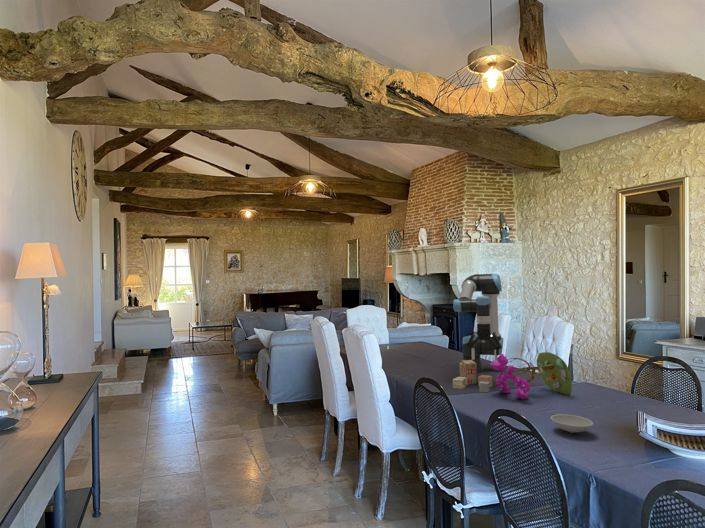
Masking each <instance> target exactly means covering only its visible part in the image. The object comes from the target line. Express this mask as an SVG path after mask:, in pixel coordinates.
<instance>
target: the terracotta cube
mask: <svg viewBox="0 0 705 528" xmlns="http://www.w3.org/2000/svg"><path fill="white" fill-rule="evenodd" d="M480 381H483V382H489V388H492V387H493V375H487V374H481V375H479V376H477V387H478V388H479V382H480Z"/></svg>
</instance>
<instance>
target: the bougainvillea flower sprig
mask: <svg viewBox="0 0 705 528" xmlns="http://www.w3.org/2000/svg"><path fill="white" fill-rule="evenodd" d="M510 360H511V361H510ZM515 360H520V361H522V362H524V363H522V364H521V365H519V366H516V367H515V366H514V365H513V364H511V365H508V364H509V363H511V362H513V361H515ZM489 365H490V367H491V369H492V370H495V371H501V372H499V373H498V375H496V376H495V377H496V378H495V381H496V388H497V389H498V391H500V392H502V393H503V394H505V393H507V394H510V393H511V391H512V389H511V388H510V385H509V384H511V385H514V386H516V387H517V388H516V390H515V391H514V393H515V396H517V397H518V398H519V399H520V400H527V399H528V398H529V393H528V392H530V391H531V386H532V385H534V386H538V385H539V384H540V379H539V376H540V378H541V379H542V380H543V382H544V384H545V385H546V386H547V388H548V389H550V390H551V391H552V390H553V392H557V393H559V392H560V394H562V393H563V395H566V396H571V395H572V391H573V390H572V389H573V385H572V384H573V383H572V378H571V373H570V369H569V367H568V365H567V363H566V361H564V359H562V358H561V357H560V356H559V355H557V354H555V353H552V352H548V351H547V352H543V351H541V352H539V353H538V355H537V358H536V366H534V365H533V363H530V362H528V361H527V360H525V359H523V358H520V357H510V358H508V357H507V356H506V355H504V354H503V353H502V354H500V355H498V358H497V361H496V362H495V360H494V361H492V362H491V363H489ZM523 365H527V366H525V367H522V366H523ZM520 366H521V368H520ZM518 367H519V368H518ZM505 370H506V372H504V371H505ZM523 370H524V371H523ZM520 371H522V372H520ZM536 371H538V372H537V373H536ZM526 373H529V375H527V376H525V377H522V378H521V377H519V376H518V375H523V374H526ZM535 377H537V380H538V381H537V384H536V383H534V384H532V381H533V380H534V379H535ZM527 378H529V379H528V380H527ZM509 380H512V382H510V381H509ZM508 381H509V382H508Z"/></svg>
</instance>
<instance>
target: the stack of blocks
mask: <svg viewBox="0 0 705 528" xmlns="http://www.w3.org/2000/svg"><path fill="white" fill-rule="evenodd" d="M458 368H459V370H458V371H459V377H467V385H478V376H477V374H478V372H477V364H476V363H475V362H474V361H472V360H463V359H462V360H461V362H459V363H458Z"/></svg>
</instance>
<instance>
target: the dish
mask: <svg viewBox="0 0 705 528" xmlns="http://www.w3.org/2000/svg"><path fill="white" fill-rule="evenodd" d="M550 420H551V422H553V423H554V424H555V425H556V426H557V427H558V428H559V429H561V430H563V431H566V432H569V434H570V433H571V434H575V433H583V432H585V431H587V430H589V429H590V427H592V426H594V422H593V420H590V419H589V418H586V417H583V416H579V415H574V414H573V415H572V414H564V413H563V414H562V413H560V414H559V413H558V414H553V415H551V416H550Z"/></svg>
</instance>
